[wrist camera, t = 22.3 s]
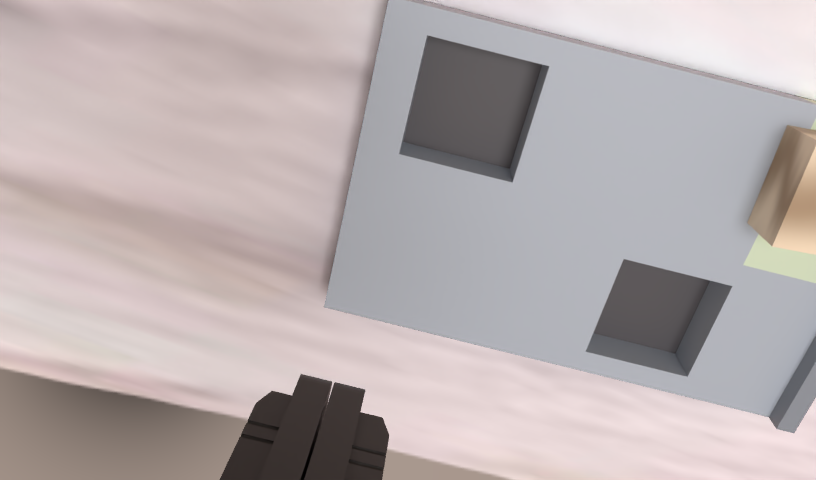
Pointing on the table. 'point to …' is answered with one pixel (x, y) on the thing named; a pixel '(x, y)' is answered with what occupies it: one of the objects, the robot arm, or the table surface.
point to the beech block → (789, 194)
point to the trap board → (577, 211)
